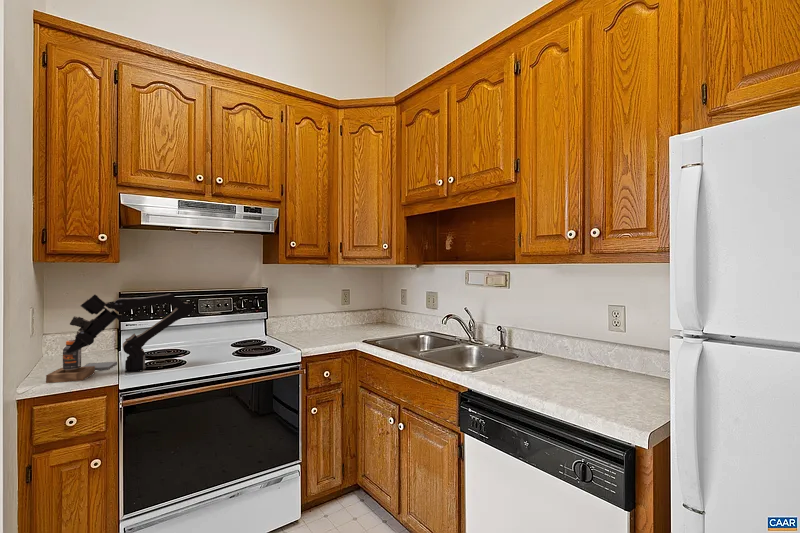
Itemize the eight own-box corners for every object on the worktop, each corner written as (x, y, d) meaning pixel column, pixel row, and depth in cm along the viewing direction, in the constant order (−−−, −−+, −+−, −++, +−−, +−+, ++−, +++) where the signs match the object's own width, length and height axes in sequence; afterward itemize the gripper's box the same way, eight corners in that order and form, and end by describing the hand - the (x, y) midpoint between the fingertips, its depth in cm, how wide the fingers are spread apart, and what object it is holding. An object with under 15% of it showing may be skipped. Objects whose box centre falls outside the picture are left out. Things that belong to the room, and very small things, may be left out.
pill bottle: (59, 370, 164) (59, 342, 164) (67, 366, 170) (67, 339, 169) (77, 369, 165) (77, 341, 165) (84, 366, 171) (84, 339, 171)
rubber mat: (117, 364, 191) (117, 361, 191) (108, 369, 180) (108, 367, 180) (89, 365, 187) (89, 363, 187) (78, 371, 177) (78, 368, 177)
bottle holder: (94, 373, 175) (94, 366, 175) (82, 380, 163) (82, 373, 163) (60, 375, 171) (60, 367, 171) (46, 382, 160) (46, 375, 160)
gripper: (85, 307, 177) (51, 335, 171) (83, 311, 162) (46, 342, 156) (107, 324, 182) (75, 351, 175) (107, 329, 167) (73, 360, 160)
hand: (67, 351), depth 167 cm, fingers closed on pill bottle, 6 cm apart
